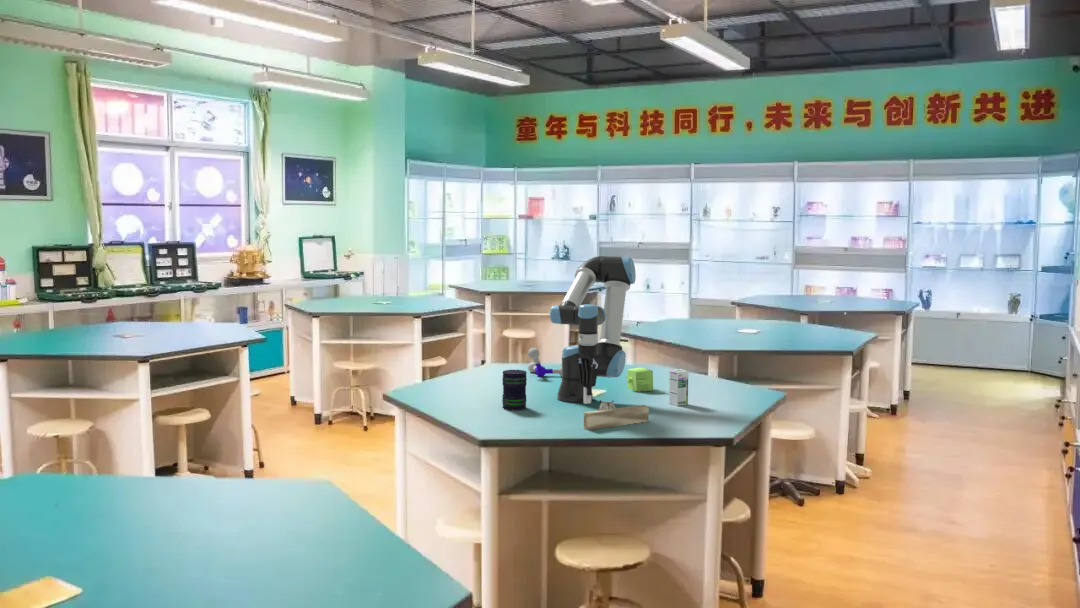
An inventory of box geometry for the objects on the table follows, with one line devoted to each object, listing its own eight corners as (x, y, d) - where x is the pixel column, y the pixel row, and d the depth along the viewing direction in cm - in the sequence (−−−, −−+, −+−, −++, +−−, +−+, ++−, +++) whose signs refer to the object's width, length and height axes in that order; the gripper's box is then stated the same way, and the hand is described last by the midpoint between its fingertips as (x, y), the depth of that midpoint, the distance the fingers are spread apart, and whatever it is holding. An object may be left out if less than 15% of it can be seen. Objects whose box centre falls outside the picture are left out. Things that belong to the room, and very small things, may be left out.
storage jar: (518, 411, 347) (518, 374, 346) (497, 408, 352) (497, 372, 351) (530, 407, 356) (531, 371, 355) (510, 404, 361) (510, 368, 359)
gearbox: (619, 387, 405) (619, 367, 404) (639, 385, 408) (638, 365, 407) (635, 393, 388) (635, 372, 387) (656, 391, 391) (655, 371, 390)
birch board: (583, 428, 320) (583, 412, 319) (643, 420, 334) (643, 404, 334) (588, 430, 317) (588, 413, 316) (648, 421, 332) (648, 406, 331)
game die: (609, 432, 330) (612, 415, 323) (590, 422, 333) (592, 404, 326) (621, 417, 336) (624, 400, 329) (602, 407, 339) (604, 390, 332)
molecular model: (570, 379, 422) (570, 349, 420) (527, 379, 422) (528, 348, 420) (568, 372, 443) (569, 343, 442) (528, 371, 443) (528, 342, 442)
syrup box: (676, 406, 361) (677, 371, 360) (668, 403, 367) (669, 369, 365) (688, 405, 364) (689, 370, 363) (679, 402, 369) (680, 368, 368)
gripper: (570, 342, 344) (570, 400, 347) (589, 347, 333) (589, 407, 336) (586, 341, 348) (585, 398, 351) (605, 345, 337) (604, 405, 340)
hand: (587, 402), depth 344 cm, fingers closed
